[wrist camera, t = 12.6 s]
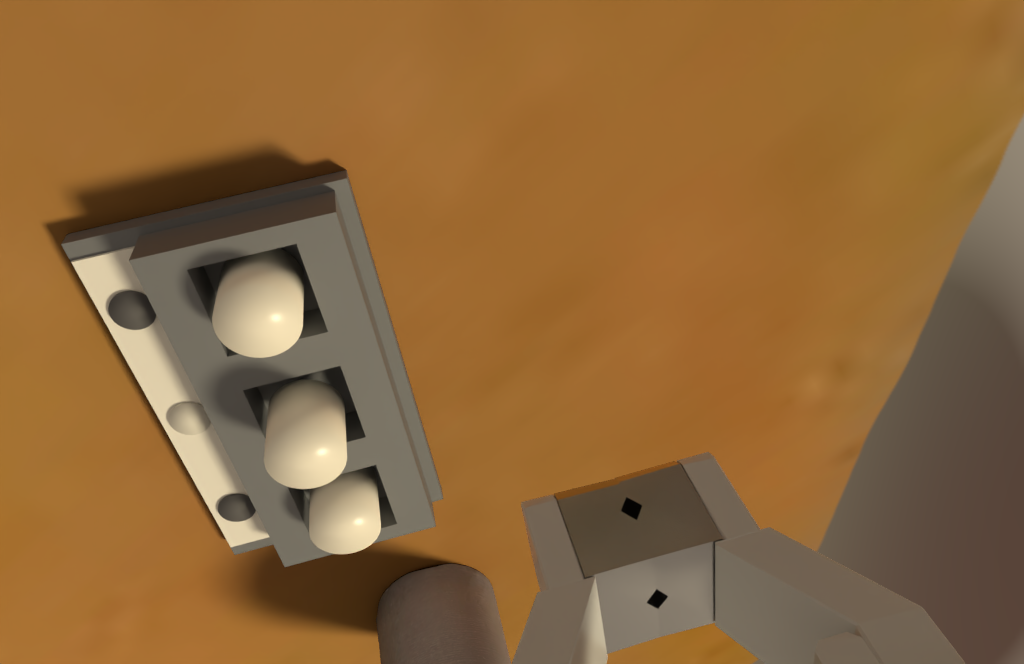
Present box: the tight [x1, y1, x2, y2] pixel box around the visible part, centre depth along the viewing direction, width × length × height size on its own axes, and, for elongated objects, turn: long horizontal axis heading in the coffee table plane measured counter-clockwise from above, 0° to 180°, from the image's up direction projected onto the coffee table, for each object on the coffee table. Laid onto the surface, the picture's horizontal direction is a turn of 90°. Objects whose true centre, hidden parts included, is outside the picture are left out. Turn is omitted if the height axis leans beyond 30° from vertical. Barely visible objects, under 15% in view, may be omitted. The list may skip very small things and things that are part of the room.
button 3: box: [309, 466, 381, 554], centre depth 50 cm, size 4×4×4 cm
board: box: [61, 170, 443, 567], centre depth 47 cm, size 15×25×4 cm, turn 9°
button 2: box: [264, 379, 347, 489], centre depth 44 cm, size 4×4×4 cm
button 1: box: [212, 248, 304, 358], centre depth 41 cm, size 4×4×4 cm
